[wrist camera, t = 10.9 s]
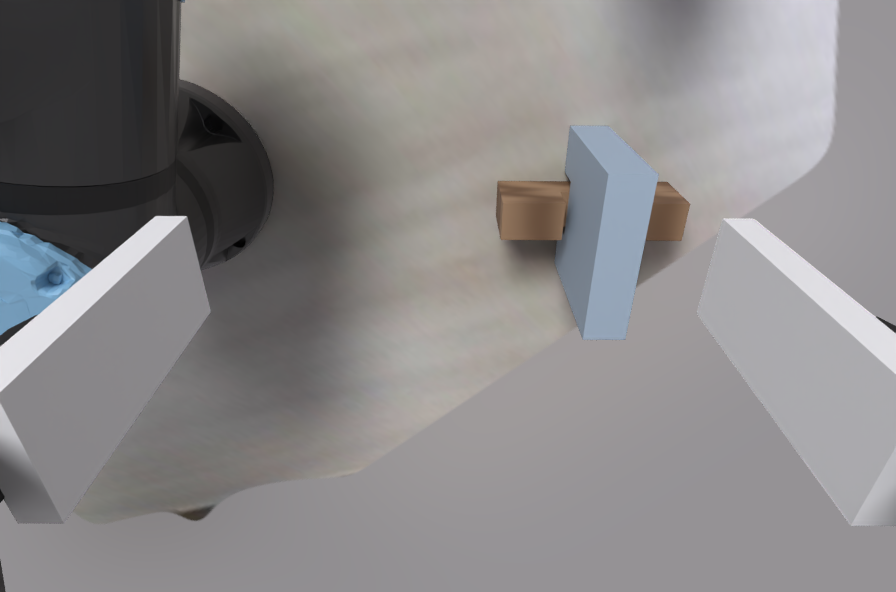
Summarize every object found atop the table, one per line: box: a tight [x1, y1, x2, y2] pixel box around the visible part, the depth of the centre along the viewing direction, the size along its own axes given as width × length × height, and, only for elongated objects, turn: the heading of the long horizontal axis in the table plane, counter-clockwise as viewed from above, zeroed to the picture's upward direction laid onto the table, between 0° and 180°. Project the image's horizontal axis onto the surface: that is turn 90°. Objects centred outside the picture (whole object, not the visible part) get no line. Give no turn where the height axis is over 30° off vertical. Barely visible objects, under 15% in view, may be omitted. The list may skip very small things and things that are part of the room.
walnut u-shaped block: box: [496, 181, 690, 241], centre depth 44 cm, size 14×3×5 cm, turn 90°
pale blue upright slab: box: [554, 126, 659, 340], centre depth 41 cm, size 3×12×12 cm, turn 0°
